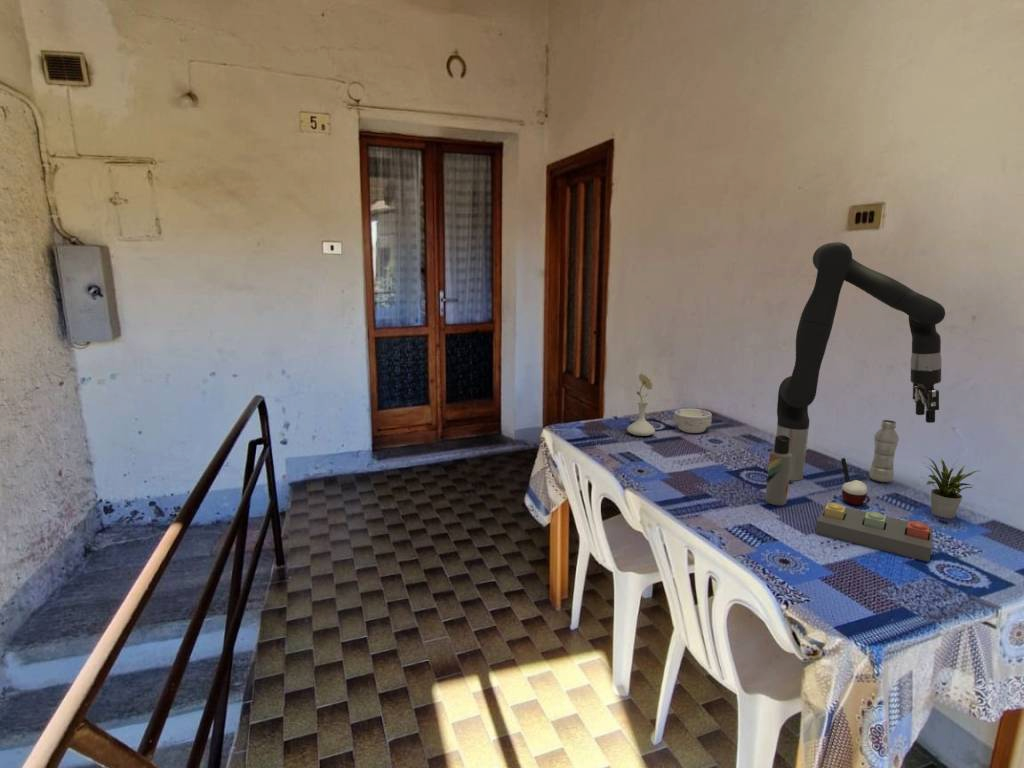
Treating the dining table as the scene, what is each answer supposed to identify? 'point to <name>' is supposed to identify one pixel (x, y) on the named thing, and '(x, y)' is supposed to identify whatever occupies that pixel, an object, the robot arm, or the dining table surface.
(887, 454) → the plastic bottle
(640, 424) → the flower in vase
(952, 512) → the house plant
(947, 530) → the dining table surface
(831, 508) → the ochre button
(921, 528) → the red button
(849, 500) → the cocoa
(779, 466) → the lotion bottle
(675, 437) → the dining table surface
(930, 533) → the panel
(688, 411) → the paper bowls
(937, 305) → the robot arm
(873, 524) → the sage button
